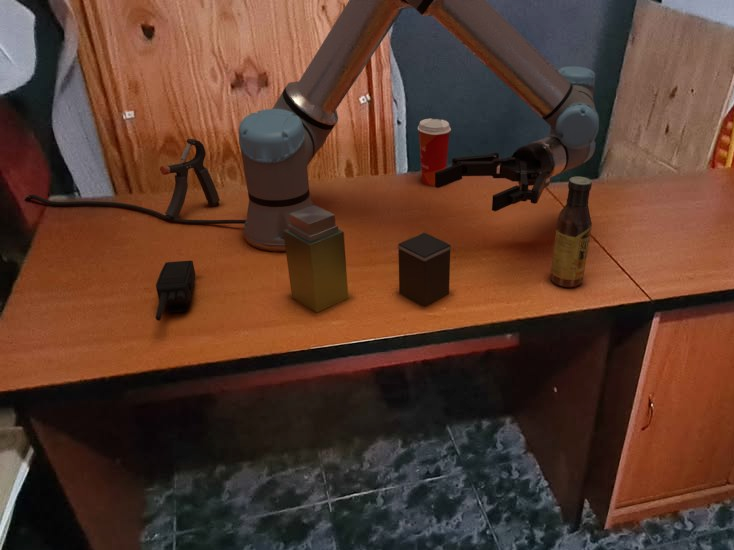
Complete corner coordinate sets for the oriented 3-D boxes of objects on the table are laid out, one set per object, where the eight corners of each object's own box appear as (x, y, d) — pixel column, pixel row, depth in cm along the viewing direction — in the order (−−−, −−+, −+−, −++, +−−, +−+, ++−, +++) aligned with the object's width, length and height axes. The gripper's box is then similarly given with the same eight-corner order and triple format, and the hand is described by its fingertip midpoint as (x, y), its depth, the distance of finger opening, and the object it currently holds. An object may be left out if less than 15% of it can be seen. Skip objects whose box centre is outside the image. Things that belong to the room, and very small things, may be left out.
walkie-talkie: (206, 265, 124) (197, 316, 108) (185, 289, 126) (173, 343, 109) (175, 244, 121) (161, 293, 105) (154, 269, 122) (137, 322, 106)
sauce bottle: (581, 291, 128) (597, 190, 116) (547, 286, 129) (560, 185, 117) (583, 274, 133) (599, 176, 122) (551, 269, 134) (564, 171, 122)
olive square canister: (291, 297, 121) (280, 213, 112) (323, 283, 126) (315, 201, 116) (316, 313, 118) (307, 227, 108) (348, 298, 122) (342, 214, 112)
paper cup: (421, 173, 170) (421, 116, 161) (451, 176, 169) (453, 119, 161) (414, 185, 164) (414, 126, 155) (446, 189, 163) (447, 130, 155)
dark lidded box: (398, 293, 124) (397, 243, 118) (424, 280, 128) (424, 232, 122) (424, 307, 121) (424, 256, 115) (449, 294, 125) (451, 244, 119)
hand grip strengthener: (164, 221, 142) (147, 149, 133) (214, 202, 150) (201, 133, 141) (171, 224, 141) (154, 152, 132) (221, 205, 149) (208, 136, 141)
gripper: (588, 199, 130) (518, 234, 117) (488, 162, 142) (414, 190, 129) (594, 160, 125) (521, 192, 112) (490, 126, 138) (414, 151, 125)
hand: (464, 191), depth 121 cm, fingers open, 13 cm apart
